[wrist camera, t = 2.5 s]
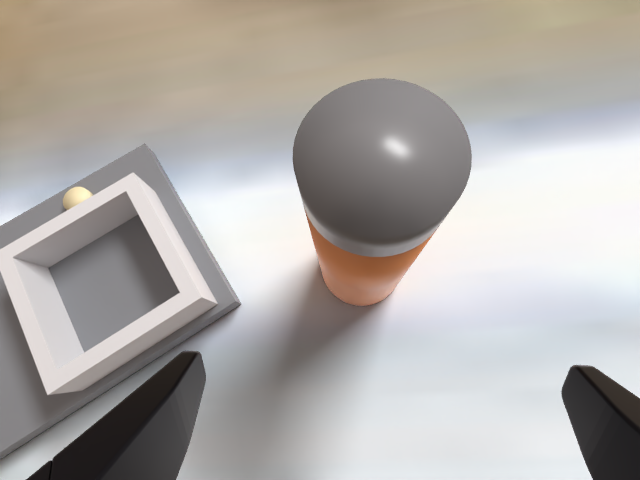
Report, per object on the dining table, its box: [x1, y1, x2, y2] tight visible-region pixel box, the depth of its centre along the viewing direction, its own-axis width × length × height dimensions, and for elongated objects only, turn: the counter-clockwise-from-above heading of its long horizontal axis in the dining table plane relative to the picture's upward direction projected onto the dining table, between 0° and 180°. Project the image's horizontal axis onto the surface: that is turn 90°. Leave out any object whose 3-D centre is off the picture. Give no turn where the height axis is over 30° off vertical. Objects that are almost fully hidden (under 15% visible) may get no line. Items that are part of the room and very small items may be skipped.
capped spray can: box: [293, 78, 472, 306], centre depth 16 cm, size 5×5×13 cm
